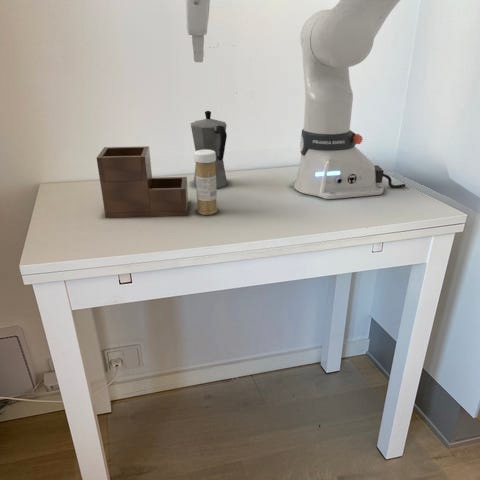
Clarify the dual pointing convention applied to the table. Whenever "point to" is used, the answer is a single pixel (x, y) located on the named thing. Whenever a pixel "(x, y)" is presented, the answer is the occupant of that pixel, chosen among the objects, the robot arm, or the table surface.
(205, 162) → the sprinkles bottle
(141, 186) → the caddy
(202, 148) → the coffeepot
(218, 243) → the table surface
